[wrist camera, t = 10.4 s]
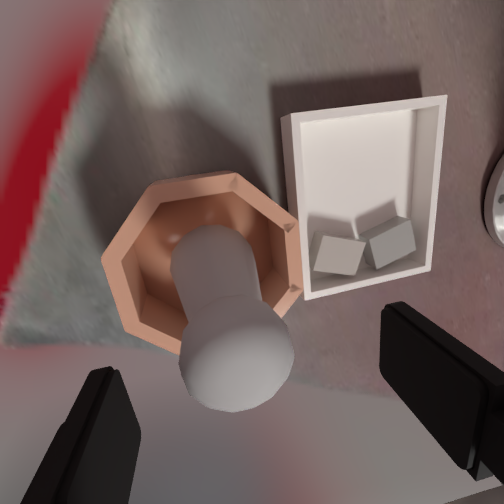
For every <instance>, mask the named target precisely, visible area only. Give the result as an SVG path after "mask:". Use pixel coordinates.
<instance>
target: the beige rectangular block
mask: <svg viewBox="0 0 504 504" xmlns="http://www.w3.org/2000/svg"><path fill="white" fill-rule="evenodd" d="M365 244H366V242H364V241H361V240H359V239H357V238H354V237H349V236H343V235H337V234H332V233H326V232H320V231H314V235H313V238H312V242H311V245H310V249H309V267H310V268H311V269H312V270H313V271H321V272H328V273H336V274H344V275H351V276H355V274H356V271H357V268H358V265H359V262H360V259H361V256H362V253H363V250H364V247H365Z"/></svg>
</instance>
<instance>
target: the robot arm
mask: <svg viewBox="0 0 504 504" xmlns="http://www.w3.org/2000/svg"><path fill="white" fill-rule="evenodd" d="M484 217H485V223H486V227H487V229H488V232H489V234H490V236H491V237H492V239H493V240H494V241H495V242H496V243H497V244H499V245H500V246H502V247H504V154H503V156H502V157H501V159H500V160H499V162H498V163H497V165H496V167H495V169H494V171H493V173H492V176H491V178H490V181H489V184H488V187H487V191H486V196H485V201H484ZM379 368H380V372H381V374H382V376H383V378H384V379H385V380H386V381H387V382H388V384H389V385H390V386H391V387H392V388H393V390H394V391H395V392H396V393H397V394H398V396H399V397H400V398H401V399H402V400H403V402H404V403H405V404H406V405H407V406H408V407H409V409H410V410H411V411H412V412H413V413H414V415H415V416H416V417H417V418H418V419H419V420H420V422H421V423H422V424H423V425H424V426H425V428H426V429H427V430H428V431H429V432H430V434H432V436H433V437H434V438H435V439H436V441H437V442H438V443H439V444H440V446H441V447H442V448H443V449H444V450H445V451H446V453H447V454H448V455H449V456H450V457H451V459H452V460H453V461H454V462H455V463H456V464H457V466H458V467H460V468H461V469H464V470H465V469H466V470H467V472H468V473H469V474H470V475H471V476H472V477H473V479H474V480H475V481H479V480H481V479H485V478H488V477H491V476H493V474H494V475H495V477H496V478H497V479H498V480H499V481H500V482H501V483H502V486H499V487H496V488H493V489H489V490H486V491H482V492H479V493H476V494H473V495H470V496H467V497H464V498H461V499H458V500H454V501H452V502H448V503H445V504H504V372H503V371H501V370H500V369H498V368H497V367H496V366H494V365H493V364H491V363H490V362H489V361H487V360H486V359H484V358H483V357H481V356H480V355H479V354H477V353H476V352H474V351H473V350H472V349H470V348H469V347H467V346H466V345H464V344H463V343H462V342H460V341H459V340H457V339H456V338H454V337H453V336H452V335H450V334H449V333H447V332H446V331H445V330H443V329H442V328H440V327H439V326H437V325H436V324H435V323H433V322H432V321H430V320H429V319H428V318H426V317H425V316H423V315H422V314H420V313H419V312H418V311H416V310H415V309H413V308H412V307H410V306H409V305H408V304H406V303H405V302H403V301H400V302H395V303H391V304H387V305H385V307H384V309H383V310H382V311H381V331H380V363H379ZM140 441H141V430H140V426H139V423H138V421H137V418H136V415H135V412H134V410H133V407H132V404H131V402H130V399H129V396H128V393H127V390H126V388H125V385H124V382H123V380H122V377H121V374H120V372H119V370H117V369H116V370H114V369H113V368H112V367H111V366H109V367H104V368H100V369H96V370H92V371H91V372H90V373H89V375H88V377H87V379H86V381H85V383H84V385H83V387H82V389H81V391H80V393H79V395H78V397H77V399H76V401H75V403H74V405H73V407H72V409H71V411H70V413H69V415H68V417H67V419H66V421H65V422H64V423H63V424H62V425H61V426H60V428H59V429H58V431H57V433H56V435H55V437H54V439H53V441H52V443H51V444H50V446H49V448H48V451H47V452H46V454H45V456H44V458H43V460H42V462H41V464H40V466H39V468H38V470H37V472H36V474H35V476H34V478H33V480H32V482H31V484H30V486H29V488H28V490H27V492H26V493H25V495H24V497H23V499H22V501H21V503H20V504H128V501H129V496H130V491H131V486H132V481H133V476H134V471H135V466H136V461H137V456H138V451H139V446H140Z"/></svg>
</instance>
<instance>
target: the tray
mask: <svg viewBox="0 0 504 504" xmlns="http://www.w3.org/2000/svg"><path fill="white" fill-rule="evenodd" d="M446 104H447V95H441V96H433V97H424V98H416V99H407V100H399V101H390V102H382V103H374V104H365V105H357V106H348V107H340V108H332V109H323V110H315V111H306V112H298V113H290V114H288V115H286V116H283V117H281V118H280V121H281V133H282V144H283V156H284V167H285V179H286V191H287V202H288V213H289V214H290V215H292V216H293V217H294V218H295V219H297V220H298V221H299V234H300V247H301V261H302V274H303V287H304V289H303V291H302V293H301V294H300V296H301V297H302V298H303V299H304V300H310V299H314V298H318V297H322V296H326V295H331V294H335V293H339V292H343V291H347V290H352V289H356V288H360V287H364V286H368V285H373V284H377V283H381V282H385V281H389V280H394V279H398V278H402V277H406V276H410V275H415V274H419V273H423V272H427V271H431V261H432V250H433V240H434V229H435V219H436V208H437V198H438V187H439V177H440V166H441V156H442V145H443V135H444V124H445V114H446ZM396 216H400V217H404V218H408V219H411V223H412V229H413V234H414V240H415V245H416V250H415V251H413V252H411V253H409V254H407V255H405V256H403V257H401V258H399V259H397V260H395V261H393V262H391V263H389V264H387V265H385V266H383V267H381V268H379V269H375V268H373V267H371V266H370V265H368V264H366V262H365V258H364V255H363V253H362V256H361V259H360V262H359V265H358V268H357V271H356V274H355V276H351V275H344V274H336V273H328V272H321V271H313V270H312V269H311V268H310V267H309V249H310V245H311V242H312V238H313V235H314V231H320V232H326V233H332V234H337V235H343V236H349V237H354V238H357V239H359V236H358V235H359V234H361V233H363V232H365V231H367V230H369V229H371V228H373V227H375V226H377V225H379V224H381V223H383V222H386V221H388V220H390V219H392V218H394V217H396Z"/></svg>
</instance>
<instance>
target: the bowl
mask: <svg viewBox="0 0 504 504" xmlns="http://www.w3.org/2000/svg"><path fill="white" fill-rule="evenodd" d="M201 225H223V226H225V227H228V228H231V229H233V230H236V231H239V232H240V233H241V234H242V236H243V237H244V238H245V239H246V240H247V241H248V243H249V244H250V245H251V247H252V251H253V255H254V258H255V262H256V268H257V274H258V279H259V285H260V291H261V297H262V301H264V302H266V303H267V304H268V305H269V306H270V307H271V308H272V309H273V310H274V311H275V312H276V313H277V314H278V315H279V316H280V317H281V318H282V317H283V315H284V314H285V313H286V312H287V310H288V309H289V308H290V307H291V305H292V304H293V303H294V301H295V300H296V299H297V298H298V296H299V295H300V294H301V293H302V291H303V289H304V287H303V274H302V261H301V247H300V234H299V221H298V220H297V219H295V218H294V217H293V216H292V215H290V214H289V213H288V212H286V211H285V210H284V209H283V208H281V207H280V206H279V205H278V204H276V203H275V202H274V201H272V200H271V199H270V198H269V197H267V196H266V195H265V194H263V193H262V192H261V191H260V190H258V189H257V188H256V187H255V186H253V185H252V184H251V183H249V182H248V181H247V180H246V179H244V178H243V177H242V176H241V175H239V174H238V173H235V172H232V171H228V170H224V171H217V172H210V173H204V174H193V175H188V176H183V177H177V178H170V179H163V180H156V181H154V182H153V183H152V184H151V185H149V186H148V187H147V189H146V190H145V192H144V193H143V195H142V196H141V198H140V199H139V201H138V202H137V204H136V205H135V207H134V208H133V210H132V211H131V213H130V214H129V216H128V217H127V219H126V220H125V222H124V223H123V225H122V226H121V228H120V229H119V231H118V232H117V234H116V235H115V237H114V238H113V240H112V241H111V243H110V244H109V246H108V247H107V249H106V250H105V252H104V253H103V255H102V256H101V261H102V264H103V267H104V270H105V273H106V276H107V279H108V282H109V285H110V288H111V291H112V294H113V297H114V300H115V303H116V306H117V309H118V312H119V315H120V318H121V321H122V324H123V327H124V330H125V331H126V332H128V333H130V334H132V335H135V336H137V337H139V338H141V339H144V340H146V341H148V342H150V343H152V344H155V345H157V346H159V347H161V348H164V349H166V350H168V351H170V352H172V353H175V354H177V355H180V348H181V341H182V334H183V330H184V329H185V327H186V326H187V324H188V323H189V322H188V320H187V317H186V314H185V311H184V308H183V306H182V303H181V300H180V297H179V294H178V292H177V289H176V286H175V283H174V281H173V278H172V275H171V273H170V264H171V256H172V251H173V250H174V248H175V247H176V245H177V244H178V243H179V241H180V240H181V239H182V237H183V236H184V235H185V234H187V233H189V232H190V231H192V230H194V229H196V228H197V227H199V226H201Z"/></svg>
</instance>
